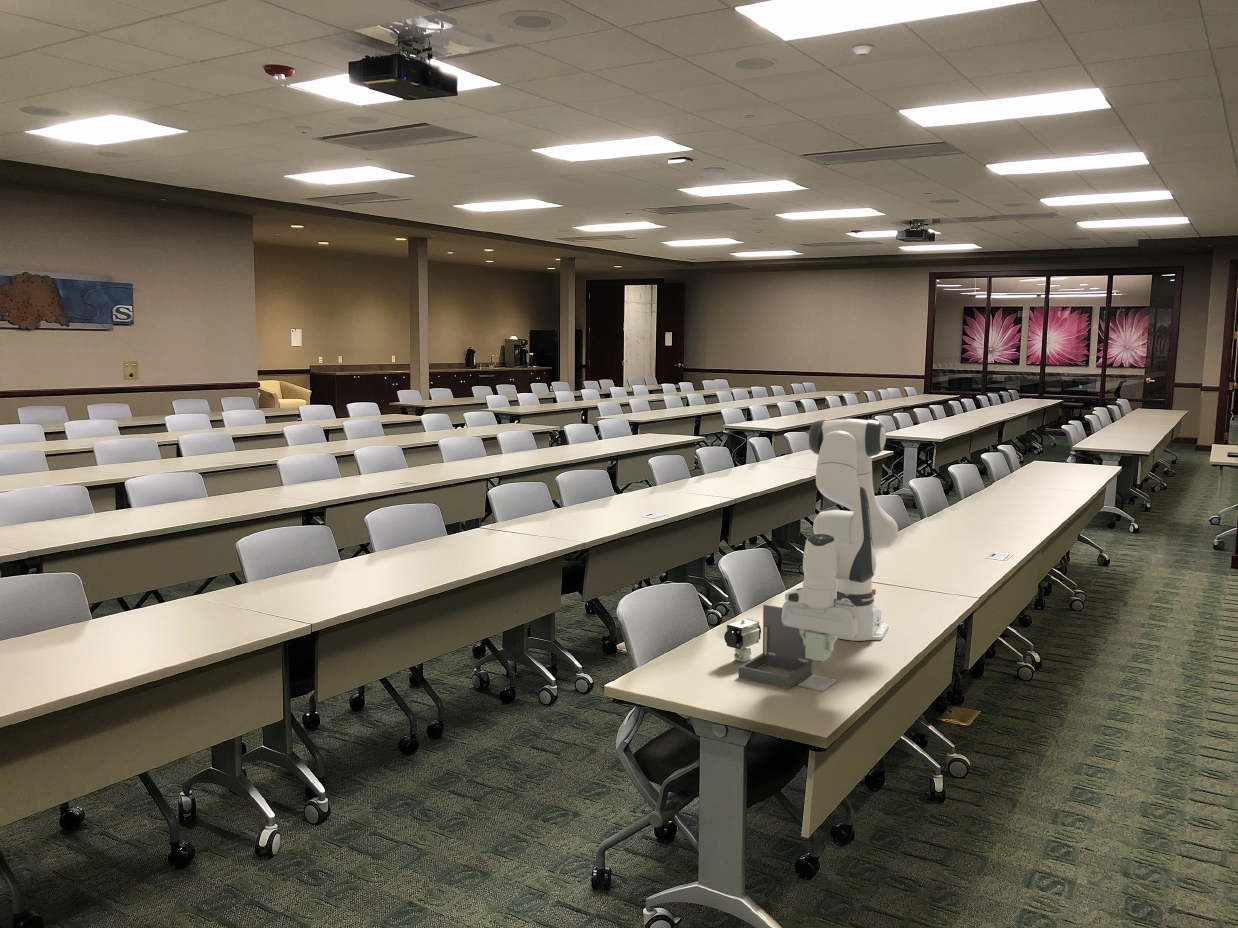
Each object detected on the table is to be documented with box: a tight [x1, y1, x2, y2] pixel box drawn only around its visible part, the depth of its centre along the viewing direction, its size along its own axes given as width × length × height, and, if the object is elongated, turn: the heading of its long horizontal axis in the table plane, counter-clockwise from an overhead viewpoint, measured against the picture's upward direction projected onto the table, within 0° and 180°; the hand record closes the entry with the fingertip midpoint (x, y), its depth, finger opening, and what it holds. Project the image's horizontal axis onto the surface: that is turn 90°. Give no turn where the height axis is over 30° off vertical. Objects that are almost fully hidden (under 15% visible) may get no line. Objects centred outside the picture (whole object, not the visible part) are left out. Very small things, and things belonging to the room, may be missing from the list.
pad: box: [797, 674, 838, 693], centre depth 239 cm, size 9×7×1 cm
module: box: [805, 631, 832, 662], centre depth 238 cm, size 5×5×8 cm
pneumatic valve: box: [723, 618, 762, 663], centre depth 257 cm, size 6×12×12 cm, turn 135°
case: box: [738, 604, 814, 690], centre depth 245 cm, size 15×15×17 cm
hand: (818, 647), depth 238 cm, fingers closed on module, 5 cm apart
